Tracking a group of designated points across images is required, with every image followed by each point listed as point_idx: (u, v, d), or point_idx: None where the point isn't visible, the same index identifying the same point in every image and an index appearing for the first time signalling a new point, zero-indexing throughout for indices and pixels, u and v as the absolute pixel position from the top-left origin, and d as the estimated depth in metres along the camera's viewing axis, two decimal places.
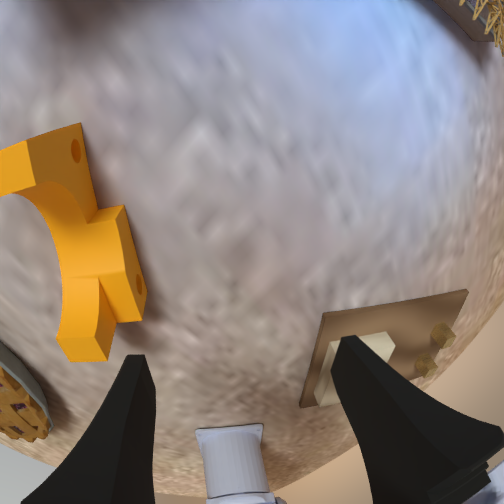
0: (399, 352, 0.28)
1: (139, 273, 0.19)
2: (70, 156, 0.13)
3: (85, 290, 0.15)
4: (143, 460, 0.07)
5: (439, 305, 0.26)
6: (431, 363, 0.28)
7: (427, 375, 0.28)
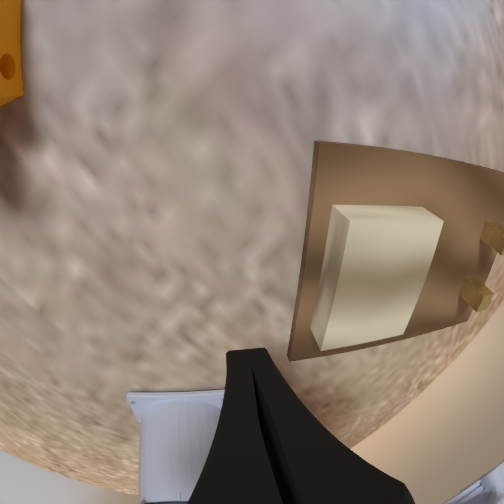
0: (441, 262, 0.18)
1: (14, 58, 0.08)
2: None
3: None
4: None
5: (488, 183, 0.15)
6: (483, 288, 0.18)
7: (481, 307, 0.18)
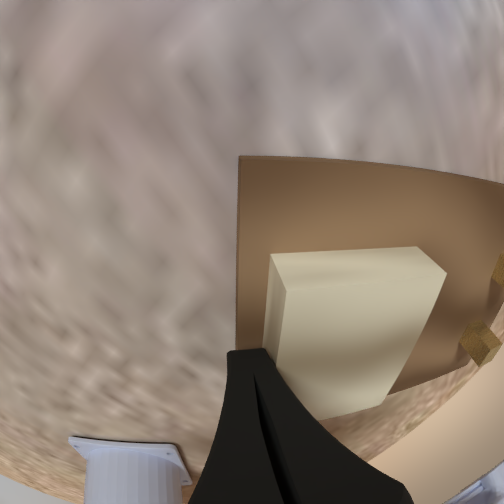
0: (439, 312, 0.13)
1: None
2: None
3: None
4: None
5: None
6: (490, 337, 0.13)
7: (485, 361, 0.13)
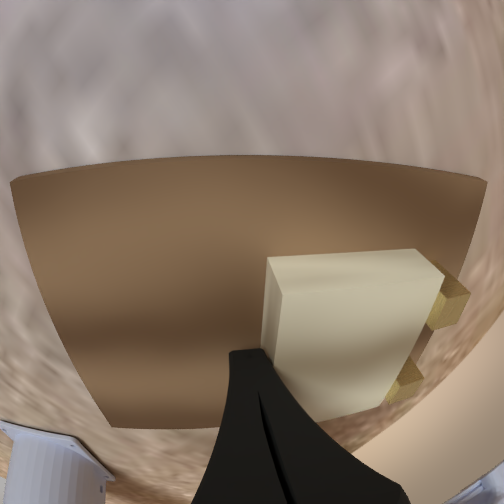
0: None
1: None
2: None
3: None
4: None
5: (411, 196, 0.09)
6: (407, 369, 0.12)
7: (397, 397, 0.12)
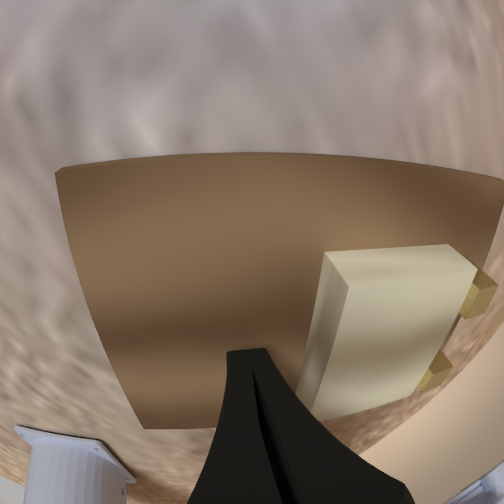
0: None
1: None
2: None
3: None
4: None
5: (448, 196, 0.10)
6: (437, 358, 0.12)
7: (429, 386, 0.12)
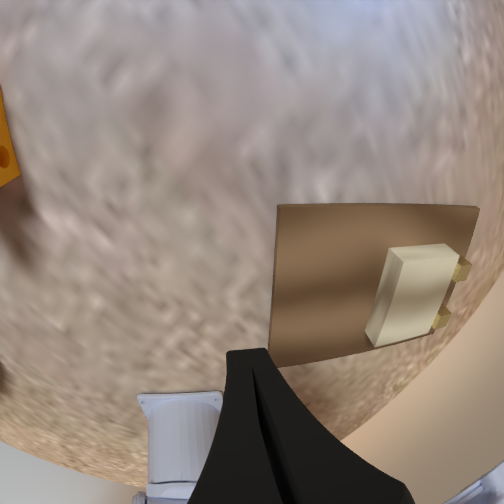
0: None
1: (7, 147, 0.12)
2: None
3: None
4: None
5: (444, 219, 0.19)
6: (442, 309, 0.22)
7: (438, 325, 0.22)
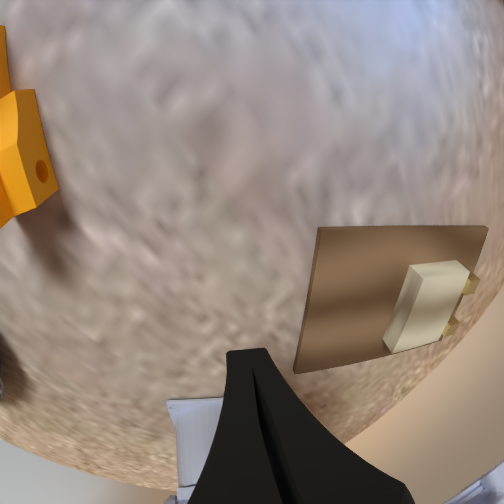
0: None
1: (45, 161, 0.13)
2: None
3: None
4: None
5: (458, 239, 0.21)
6: (451, 318, 0.24)
7: (448, 333, 0.23)
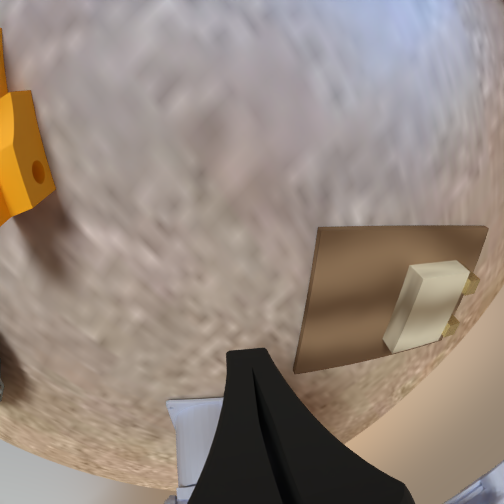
0: None
1: (41, 162, 0.13)
2: None
3: None
4: None
5: (458, 239, 0.21)
6: (451, 318, 0.24)
7: (448, 333, 0.23)
